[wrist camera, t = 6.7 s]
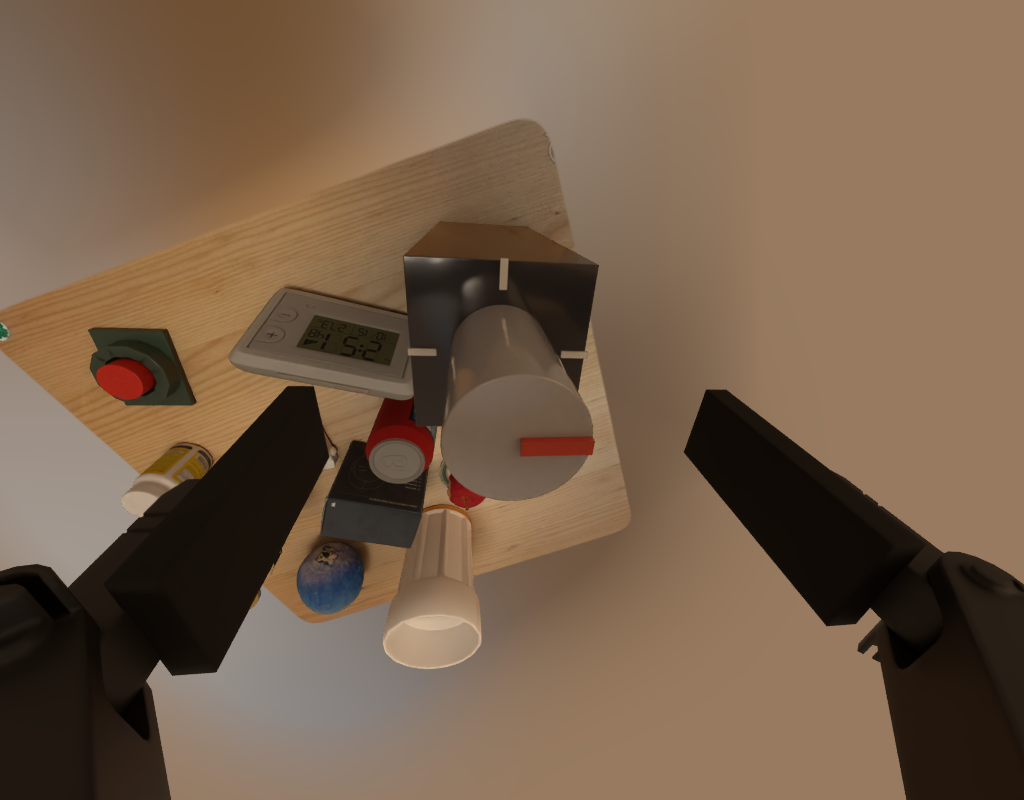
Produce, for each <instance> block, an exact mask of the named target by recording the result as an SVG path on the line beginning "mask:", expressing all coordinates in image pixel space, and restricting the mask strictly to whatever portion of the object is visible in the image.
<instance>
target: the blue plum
mask: <svg viewBox="0 0 1024 800" xmlns="http://www.w3.org/2000/svg"><path fill="white" fill-rule="evenodd" d="M363 580H364V567H363V562H362V560H361V558H360V556H359V554H358V553H357V552H356V551H355V550H354V549H353V548H352V547H350V546H348V545H346V544H343V543H339V542H330V543H327V544H324V545H322V546H320V547H318V548H316V549H315V550H313V551H312V552H311V553H310V554H309V555H308V556H307V557H306V558H305V559H304V561H303V562H302V564H301V566H300V567H299V570H298V574H297V589H298V592H299V595H300V597H301V600H302V601H303V602H304V603H305V605H306V606H307V607H309V608H310V609H311V610H312V611H314V612H317V613H320V614H333V613H337V612H339V611H341V610H343V609H345V608H346V607H347V606H349V605H350V604H351V603H352V602H353V601H354V600H355V599H356V598H357V596H358V595H359V593H360V590H361V588H362V584H363Z"/></svg>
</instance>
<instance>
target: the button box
mask: <svg viewBox="0 0 1024 800" xmlns="http://www.w3.org/2000/svg"><path fill="white" fill-rule="evenodd" d="M88 331H89V333H90V335H91V337H92V339H93V341H94V343H95V345H96V347H97V349H98V351H97V352H95V353H93V354H92V358H91V363H90V370H91V372H92V374H93V376H94V378H95V379H96V381H97V378H96V374H97V371H98V369H99V368H101V367H102V366H104V365H106V364H109V363H111V362H113V361H115V360H117V359H121V358H128V359H133V360H136V361H138V362H140V363H142V364H143V365H145V366H146V367H147V368H148V369H149V370H150V371H151V372H152V373H153V375H154V378H155V385H154V387H153V388H152V389H151V390H150V391H148V392H146V393H145V394H143V395H141V396H140V397H138V398H136V399H131V400H126V399H120V398H117V397H115V396H113V397H114V398H116V399H119V400H122V401H124V402H125V404H126V405H194V404H195V403H196V401H195V398H194V396H193V393H192V391H191V388H190V386H189V383H188V381H187V378H186V376H185V373H184V371H183V368H182V366H181V363H180V361H179V358H178V356H177V354H176V351H175V349H174V346H173V344H172V341H171V339H170V336H169V334H168V331H167V330H166V329H123V328H92V329H89V330H88ZM97 383H98V381H97ZM98 384H99V383H98ZM99 386H100V385H99Z"/></svg>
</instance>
